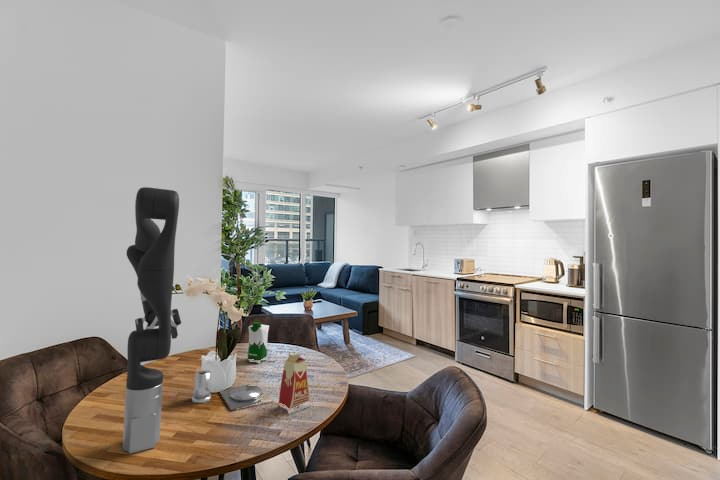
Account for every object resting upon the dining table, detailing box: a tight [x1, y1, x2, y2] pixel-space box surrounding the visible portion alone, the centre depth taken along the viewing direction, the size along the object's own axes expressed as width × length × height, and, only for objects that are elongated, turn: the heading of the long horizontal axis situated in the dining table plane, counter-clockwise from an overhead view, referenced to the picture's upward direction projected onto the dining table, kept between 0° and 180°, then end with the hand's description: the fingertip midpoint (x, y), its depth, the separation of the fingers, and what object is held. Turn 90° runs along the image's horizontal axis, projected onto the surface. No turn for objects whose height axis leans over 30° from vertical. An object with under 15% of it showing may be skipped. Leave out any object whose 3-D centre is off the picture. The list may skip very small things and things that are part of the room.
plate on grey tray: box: [219, 384, 262, 411], centre depth 133 cm, size 18×16×2 cm
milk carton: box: [278, 353, 311, 409], centre depth 127 cm, size 9×9×20 cm
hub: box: [191, 370, 212, 404], centre depth 129 cm, size 7×7×10 cm
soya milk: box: [247, 321, 270, 360], centre depth 175 cm, size 9×9×20 cm
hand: (162, 342), depth 121 cm, fingers open, 8 cm apart
